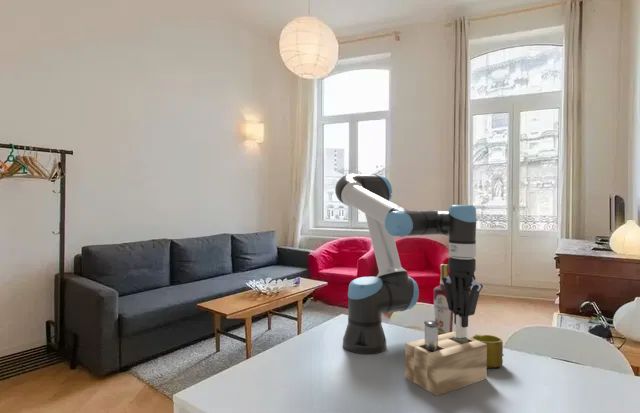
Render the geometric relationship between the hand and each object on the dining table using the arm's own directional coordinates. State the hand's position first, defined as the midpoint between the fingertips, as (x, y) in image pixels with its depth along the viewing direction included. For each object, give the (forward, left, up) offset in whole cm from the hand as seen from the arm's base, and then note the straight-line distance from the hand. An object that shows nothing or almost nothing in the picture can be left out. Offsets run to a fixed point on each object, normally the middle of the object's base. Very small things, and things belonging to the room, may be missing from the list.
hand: (460, 336), depth 114 cm
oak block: (0, -6, -11) cm, 13 cm away
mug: (-2, +14, -11) cm, 18 cm away
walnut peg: (0, 0, -10) cm, 10 cm away
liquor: (-20, +15, -11) cm, 28 cm away
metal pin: (0, -12, -4) cm, 13 cm away
